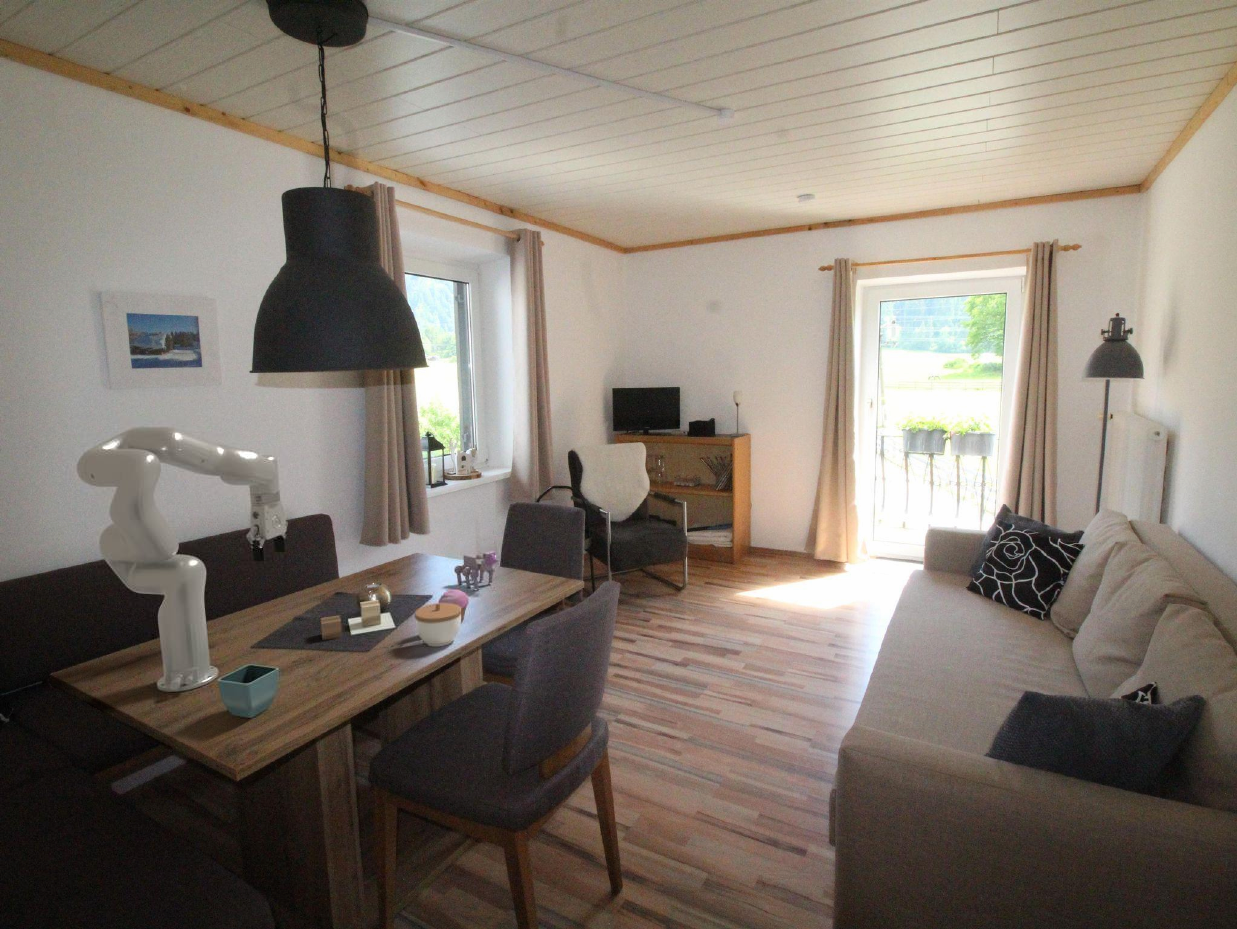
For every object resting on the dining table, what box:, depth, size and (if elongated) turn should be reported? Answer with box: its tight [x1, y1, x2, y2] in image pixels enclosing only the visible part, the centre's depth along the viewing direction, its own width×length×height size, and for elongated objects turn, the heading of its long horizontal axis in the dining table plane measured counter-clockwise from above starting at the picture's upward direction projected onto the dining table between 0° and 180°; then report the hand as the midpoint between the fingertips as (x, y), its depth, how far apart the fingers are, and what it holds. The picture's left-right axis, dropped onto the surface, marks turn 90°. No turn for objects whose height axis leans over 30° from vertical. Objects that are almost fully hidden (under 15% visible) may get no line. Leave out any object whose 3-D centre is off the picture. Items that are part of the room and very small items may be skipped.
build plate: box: [347, 612, 396, 636], centre depth 195 cm, size 14×12×1 cm
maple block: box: [359, 599, 381, 627], centre depth 195 cm, size 5×5×6 cm
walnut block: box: [320, 614, 343, 641], centre depth 186 cm, size 5×5×6 cm
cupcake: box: [437, 589, 470, 622], centre depth 197 cm, size 9×9×10 cm
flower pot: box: [216, 663, 280, 719], centre depth 145 cm, size 9×9×9 cm
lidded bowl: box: [414, 602, 462, 648], centre depth 183 cm, size 13×13×11 cm
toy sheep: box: [454, 550, 500, 590], centre depth 232 cm, size 20×11×14 cm, turn 51°
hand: (270, 556), depth 190 cm, fingers open, 9 cm apart
